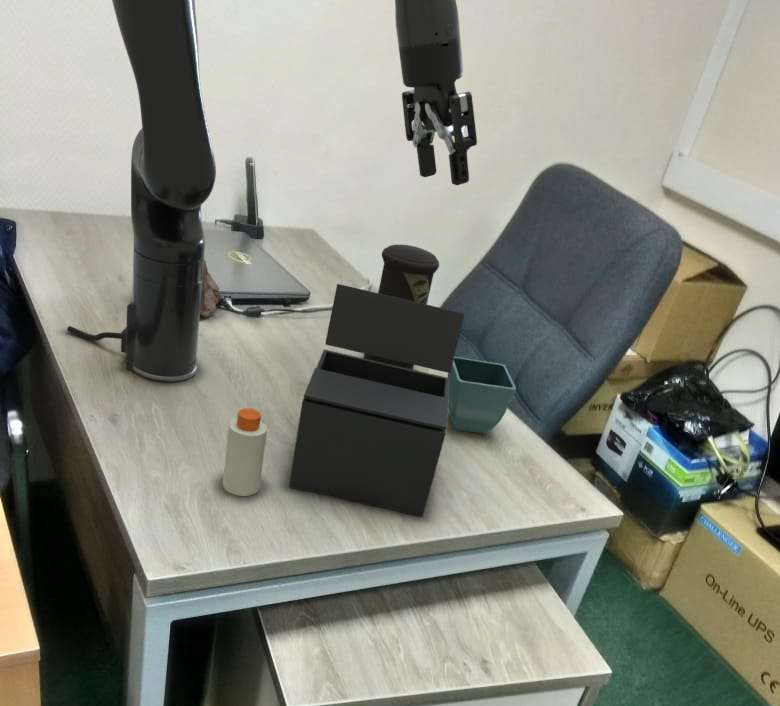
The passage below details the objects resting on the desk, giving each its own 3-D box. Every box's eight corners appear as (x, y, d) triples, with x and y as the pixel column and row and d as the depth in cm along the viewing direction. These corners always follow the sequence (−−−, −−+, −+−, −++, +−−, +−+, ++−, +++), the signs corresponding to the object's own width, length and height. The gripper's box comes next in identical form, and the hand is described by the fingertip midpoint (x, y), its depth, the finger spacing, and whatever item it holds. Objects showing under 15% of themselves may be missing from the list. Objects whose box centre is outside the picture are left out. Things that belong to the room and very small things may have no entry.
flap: (337, 283, 104) (337, 283, 104) (324, 344, 105) (325, 344, 106) (464, 313, 104) (464, 313, 105) (450, 373, 106) (450, 373, 107)
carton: (288, 487, 99) (303, 395, 92) (310, 428, 113) (324, 343, 106) (422, 517, 100) (447, 427, 93) (428, 454, 113) (450, 372, 106)
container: (407, 385, 131) (436, 264, 120) (354, 370, 131) (378, 249, 120) (416, 366, 138) (445, 250, 127) (366, 352, 138) (390, 235, 127)
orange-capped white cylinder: (218, 491, 96) (225, 417, 90) (227, 472, 99) (235, 401, 94) (254, 499, 96) (264, 426, 90) (262, 480, 99) (272, 409, 94)
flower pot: (436, 407, 126) (449, 354, 121) (489, 415, 128) (505, 363, 123) (443, 434, 119) (458, 380, 114) (499, 443, 121) (517, 389, 116)
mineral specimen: (180, 348, 136) (115, 292, 137) (232, 310, 142) (169, 257, 144) (184, 302, 126) (114, 243, 127) (240, 263, 132) (172, 207, 134)
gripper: (375, 45, 101) (394, 180, 110) (430, 43, 90) (446, 193, 99) (427, 34, 104) (442, 167, 113) (486, 31, 93) (497, 179, 102)
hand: (444, 179), depth 106 cm, fingers open, 8 cm apart
